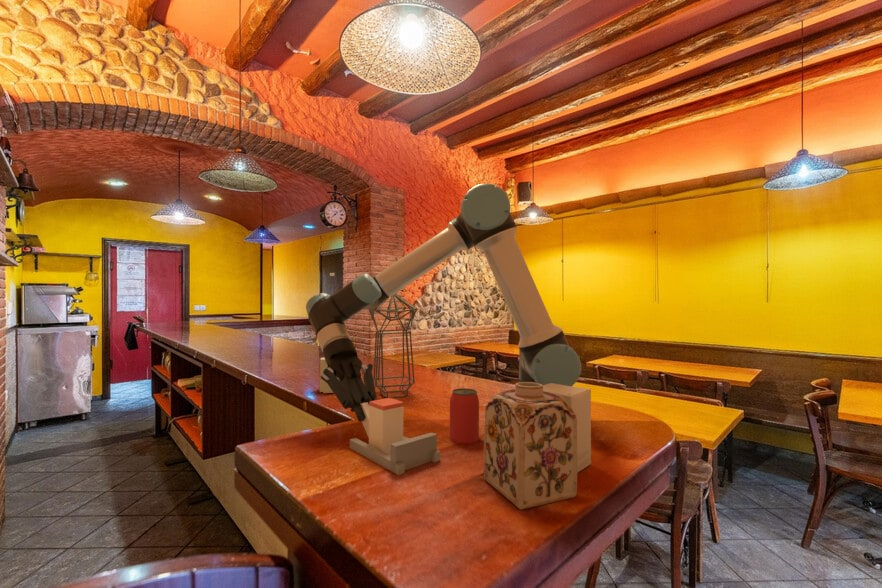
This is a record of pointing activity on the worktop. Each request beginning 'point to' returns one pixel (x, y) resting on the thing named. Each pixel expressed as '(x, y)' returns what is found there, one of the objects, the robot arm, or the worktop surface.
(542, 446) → the decorative jar
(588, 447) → the supplement box
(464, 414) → the beer can
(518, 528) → the worktop surface
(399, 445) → the grey tray
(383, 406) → the block
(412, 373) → the geometric lantern
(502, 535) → the worktop surface
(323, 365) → the can
